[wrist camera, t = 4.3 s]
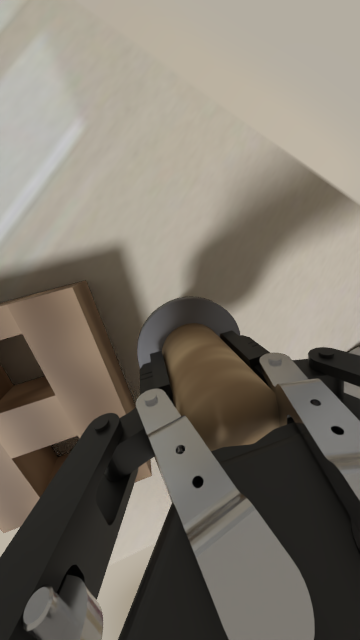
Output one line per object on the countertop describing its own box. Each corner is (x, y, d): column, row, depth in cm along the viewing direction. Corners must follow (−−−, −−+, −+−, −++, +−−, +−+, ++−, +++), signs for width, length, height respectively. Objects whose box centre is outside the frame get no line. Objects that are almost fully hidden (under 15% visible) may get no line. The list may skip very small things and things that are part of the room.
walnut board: (85, 280, 17) (72, 287, 13) (148, 440, 23) (151, 475, 19) (-90, 326, 16) (-161, 349, 12) (26, 484, 22) (3, 533, 18)
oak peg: (209, 278, 17) (320, 315, 7) (221, 351, 19) (319, 463, 9) (126, 299, 16) (108, 378, 6) (149, 373, 18) (165, 522, 8)
